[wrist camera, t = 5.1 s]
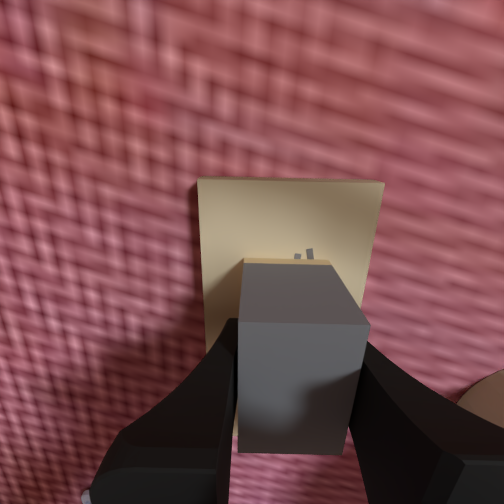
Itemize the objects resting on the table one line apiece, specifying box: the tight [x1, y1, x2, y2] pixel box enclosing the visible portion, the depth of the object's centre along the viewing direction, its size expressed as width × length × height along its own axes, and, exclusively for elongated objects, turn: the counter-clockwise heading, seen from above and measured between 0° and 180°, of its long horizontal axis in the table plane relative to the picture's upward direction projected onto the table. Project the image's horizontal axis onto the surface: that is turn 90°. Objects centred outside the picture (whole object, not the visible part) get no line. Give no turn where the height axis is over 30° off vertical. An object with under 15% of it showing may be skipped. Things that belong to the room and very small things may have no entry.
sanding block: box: [238, 258, 371, 455], centre depth 12 cm, size 6×4×5 cm, turn 179°
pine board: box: [197, 176, 385, 436], centre depth 15 cm, size 16×8×1 cm, turn 179°
